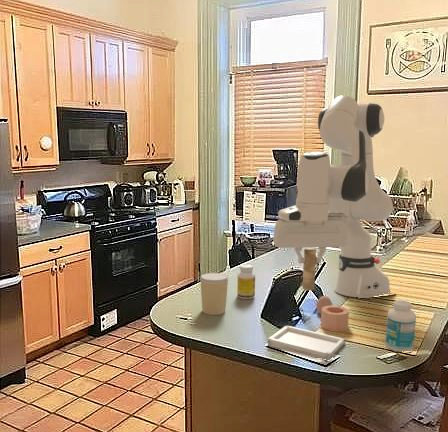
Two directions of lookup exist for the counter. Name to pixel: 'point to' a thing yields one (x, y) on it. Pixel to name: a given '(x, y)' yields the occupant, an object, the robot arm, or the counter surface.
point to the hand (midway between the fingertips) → (309, 262)
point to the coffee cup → (214, 293)
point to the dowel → (309, 269)
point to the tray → (306, 342)
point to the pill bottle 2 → (400, 327)
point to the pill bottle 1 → (246, 282)
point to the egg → (323, 303)
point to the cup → (334, 318)
